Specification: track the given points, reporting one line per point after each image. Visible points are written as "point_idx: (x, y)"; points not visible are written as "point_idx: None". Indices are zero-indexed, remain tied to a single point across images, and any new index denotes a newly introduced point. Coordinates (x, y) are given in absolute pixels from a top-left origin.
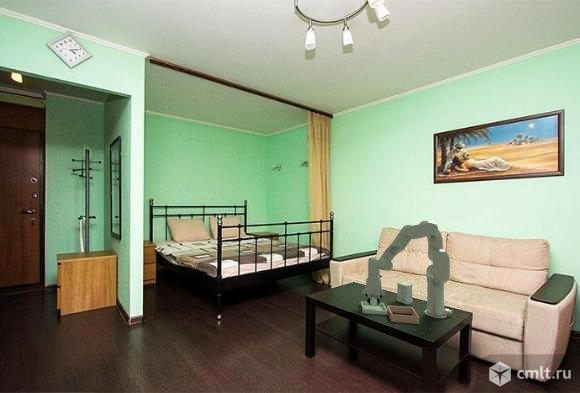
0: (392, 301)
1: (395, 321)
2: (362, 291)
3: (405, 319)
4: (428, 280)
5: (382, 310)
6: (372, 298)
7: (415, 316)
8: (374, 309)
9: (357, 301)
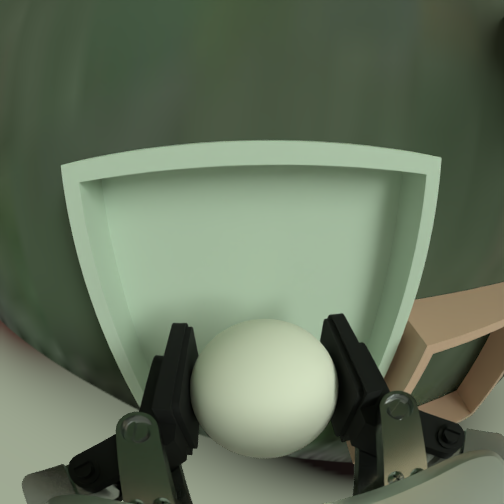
0: (480, 12)
1: None
2: (32, 498)
3: None
4: None
5: (356, 317)
6: (245, 455)
7: (461, 419)
8: (267, 316)
9: (62, 43)
